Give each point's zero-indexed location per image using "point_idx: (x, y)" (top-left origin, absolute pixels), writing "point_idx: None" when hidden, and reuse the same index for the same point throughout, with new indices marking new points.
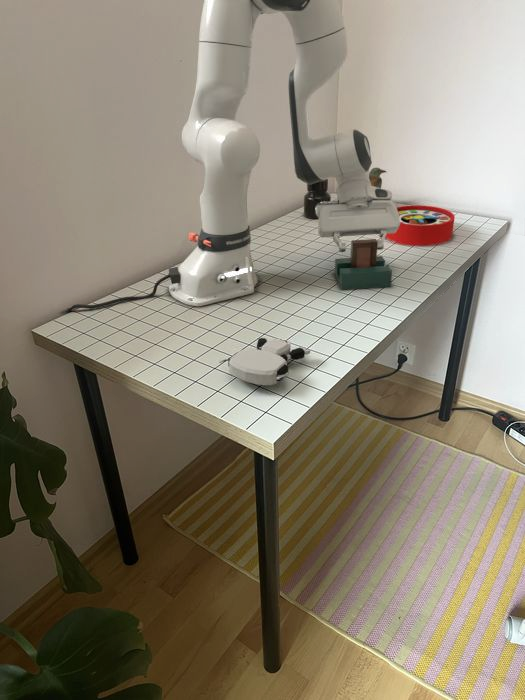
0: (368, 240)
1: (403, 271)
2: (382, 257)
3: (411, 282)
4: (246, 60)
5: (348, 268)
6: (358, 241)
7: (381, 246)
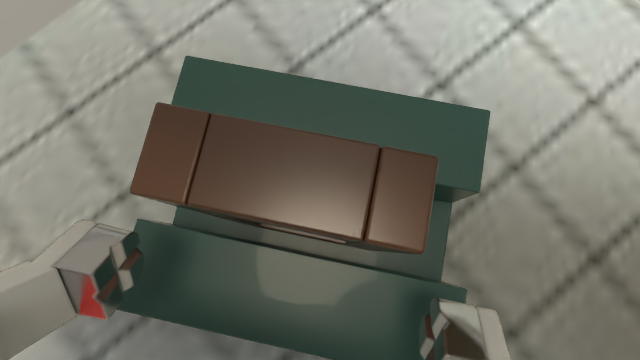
0: (230, 173)
1: None
2: None
3: (101, 111)
4: None
5: None
6: (355, 184)
7: (101, 226)
